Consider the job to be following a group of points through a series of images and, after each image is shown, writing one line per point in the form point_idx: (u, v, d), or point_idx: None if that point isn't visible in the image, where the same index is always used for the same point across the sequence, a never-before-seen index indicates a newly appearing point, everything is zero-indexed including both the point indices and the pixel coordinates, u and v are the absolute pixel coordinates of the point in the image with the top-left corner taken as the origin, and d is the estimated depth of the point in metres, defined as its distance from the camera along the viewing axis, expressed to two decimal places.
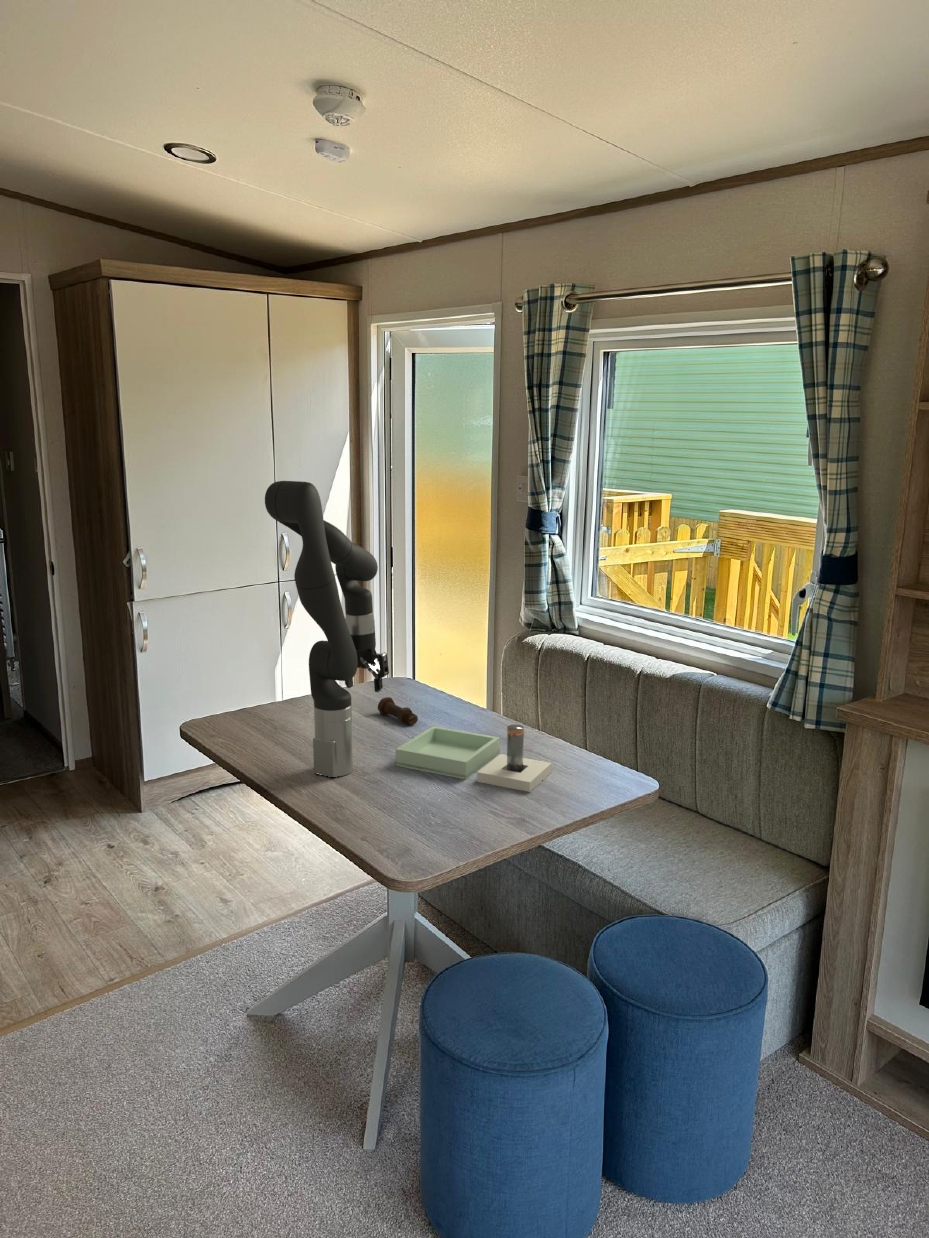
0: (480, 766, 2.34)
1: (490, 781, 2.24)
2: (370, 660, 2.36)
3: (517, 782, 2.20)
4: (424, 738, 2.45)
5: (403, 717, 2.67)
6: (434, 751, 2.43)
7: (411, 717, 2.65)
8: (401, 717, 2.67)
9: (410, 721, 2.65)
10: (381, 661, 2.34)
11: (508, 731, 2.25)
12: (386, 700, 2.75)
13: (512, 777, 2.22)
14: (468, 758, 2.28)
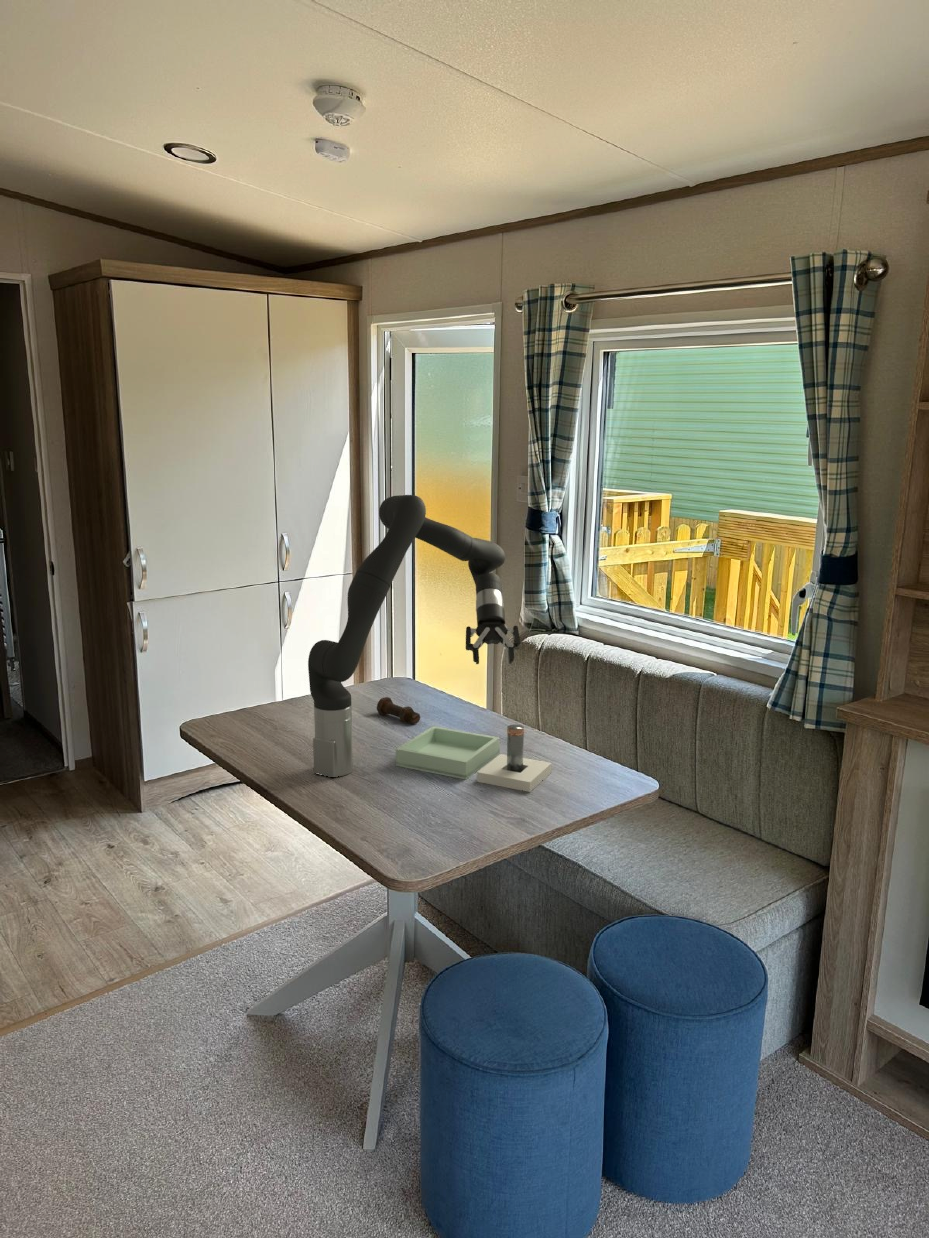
0: (480, 766, 2.34)
1: (490, 781, 2.24)
2: (504, 631, 2.42)
3: (517, 782, 2.20)
4: (424, 738, 2.45)
5: (405, 716, 2.67)
6: (434, 751, 2.43)
7: (414, 716, 2.66)
8: (403, 716, 2.67)
9: (413, 720, 2.66)
10: (516, 630, 2.42)
11: (508, 731, 2.25)
12: (385, 700, 2.75)
13: (512, 777, 2.22)
14: (468, 758, 2.28)
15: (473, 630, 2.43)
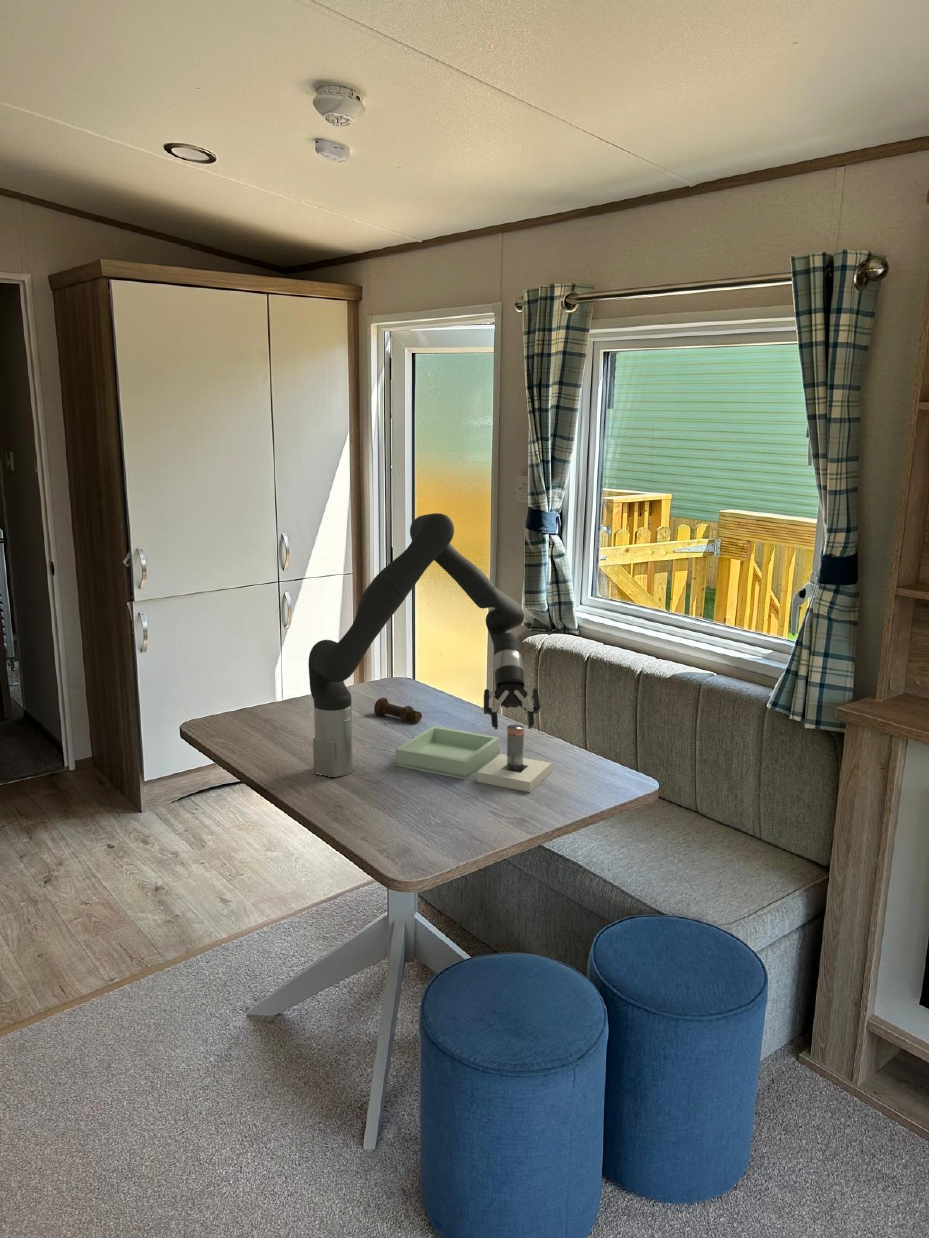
0: (480, 766, 2.34)
1: (490, 781, 2.24)
2: (523, 695, 2.35)
3: (517, 782, 2.20)
4: (424, 738, 2.45)
5: (407, 716, 2.68)
6: (434, 751, 2.43)
7: (417, 715, 2.67)
8: (405, 716, 2.68)
9: (416, 719, 2.67)
10: (536, 694, 2.35)
11: (508, 731, 2.25)
12: (382, 701, 2.74)
13: (512, 777, 2.22)
14: (468, 758, 2.28)
15: (491, 693, 2.35)
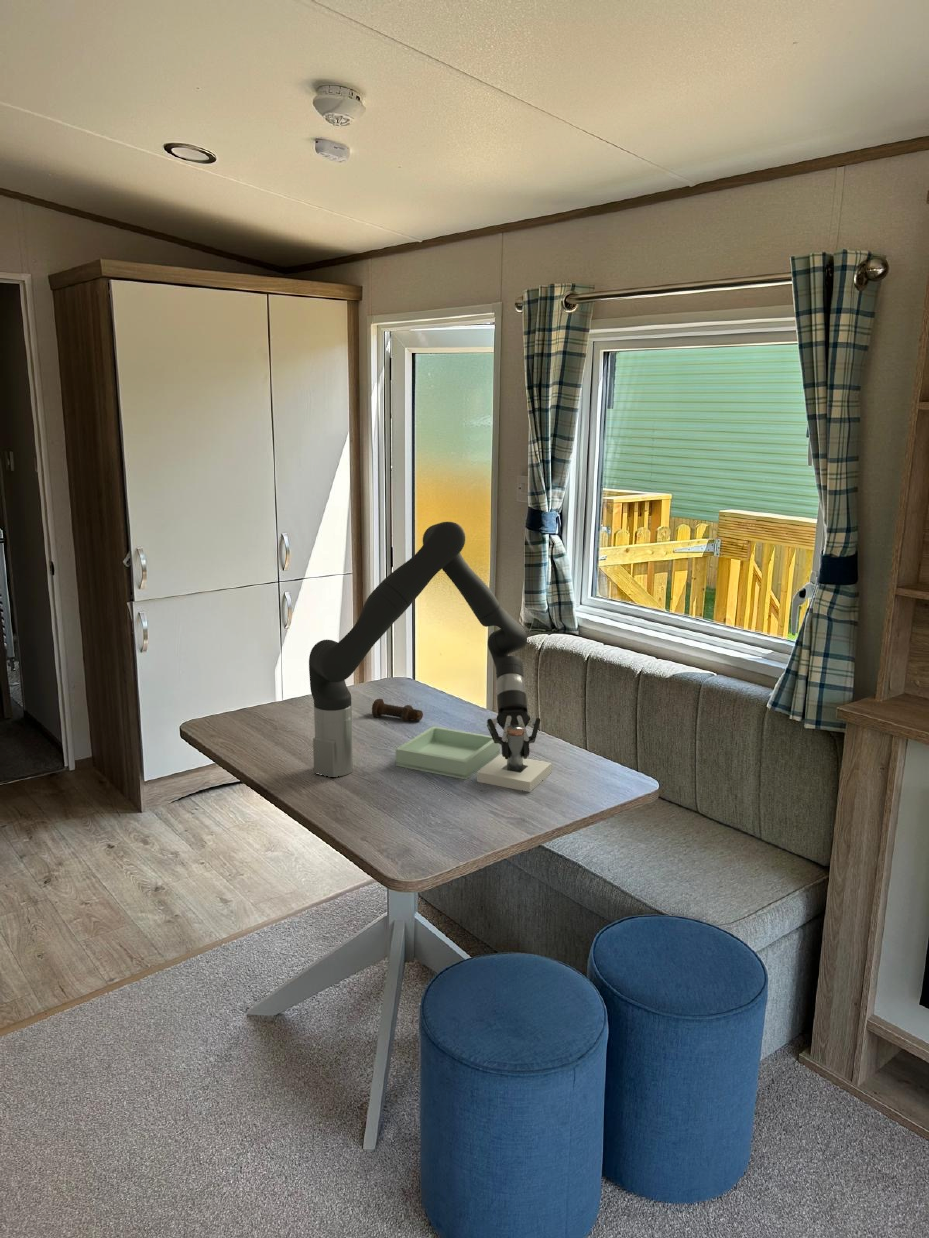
0: (480, 766, 2.34)
1: (490, 781, 2.24)
2: (525, 723, 2.29)
3: (517, 782, 2.20)
4: (424, 738, 2.45)
5: (409, 715, 2.69)
6: (434, 751, 2.43)
7: (419, 713, 2.68)
8: (407, 715, 2.69)
9: (418, 717, 2.68)
10: (537, 724, 2.29)
11: (508, 731, 2.25)
12: (379, 702, 2.73)
13: (512, 777, 2.22)
14: (468, 758, 2.28)
15: (494, 721, 2.30)
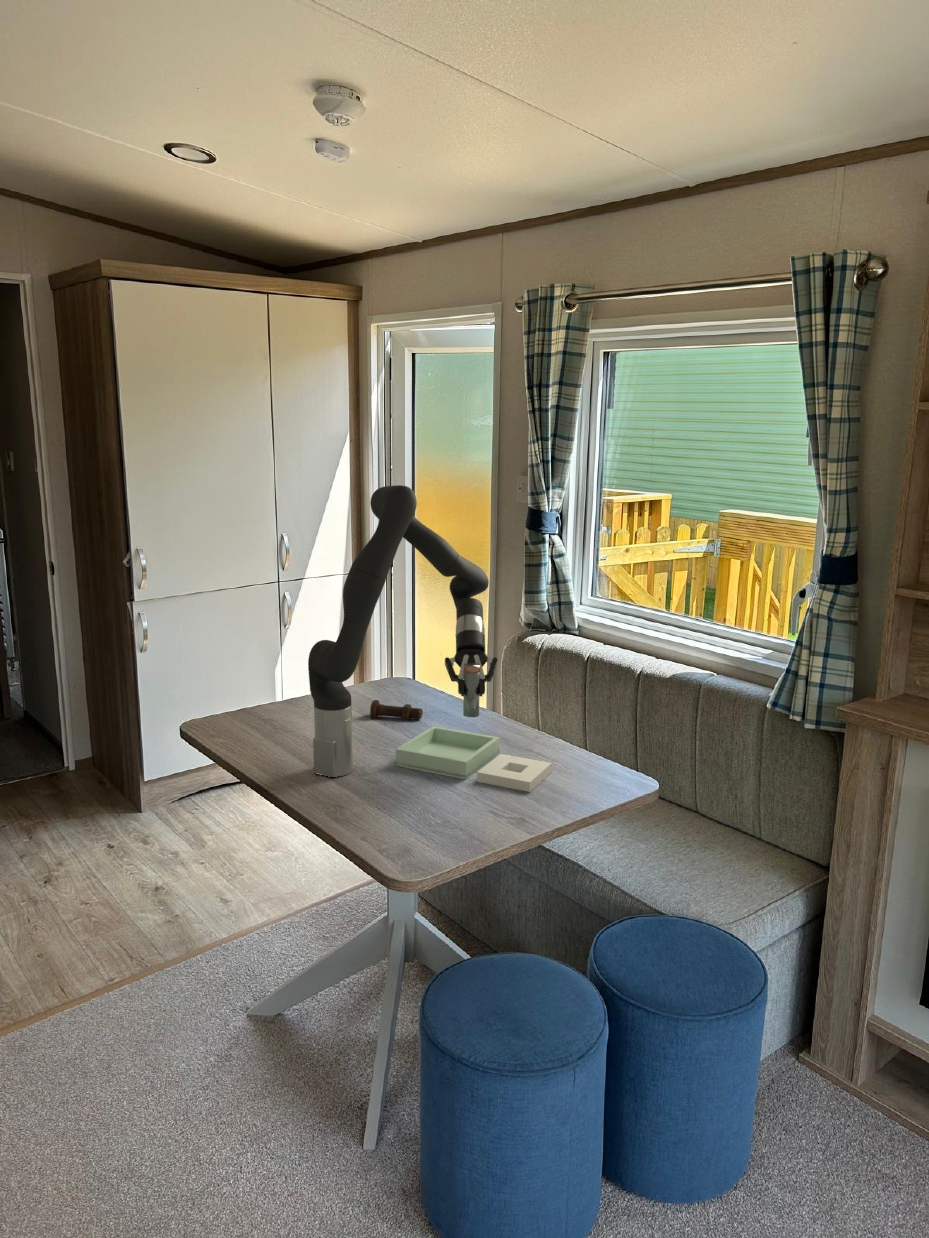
0: (480, 766, 2.34)
1: (490, 781, 2.24)
2: (482, 662, 2.33)
3: (517, 782, 2.20)
4: (424, 738, 2.45)
5: (410, 714, 2.70)
6: (434, 751, 2.43)
7: (420, 711, 2.70)
8: (408, 714, 2.69)
9: (419, 716, 2.70)
10: (494, 663, 2.33)
11: (464, 668, 2.29)
12: (377, 703, 2.72)
13: (512, 777, 2.22)
14: (468, 758, 2.28)
15: (452, 659, 2.34)
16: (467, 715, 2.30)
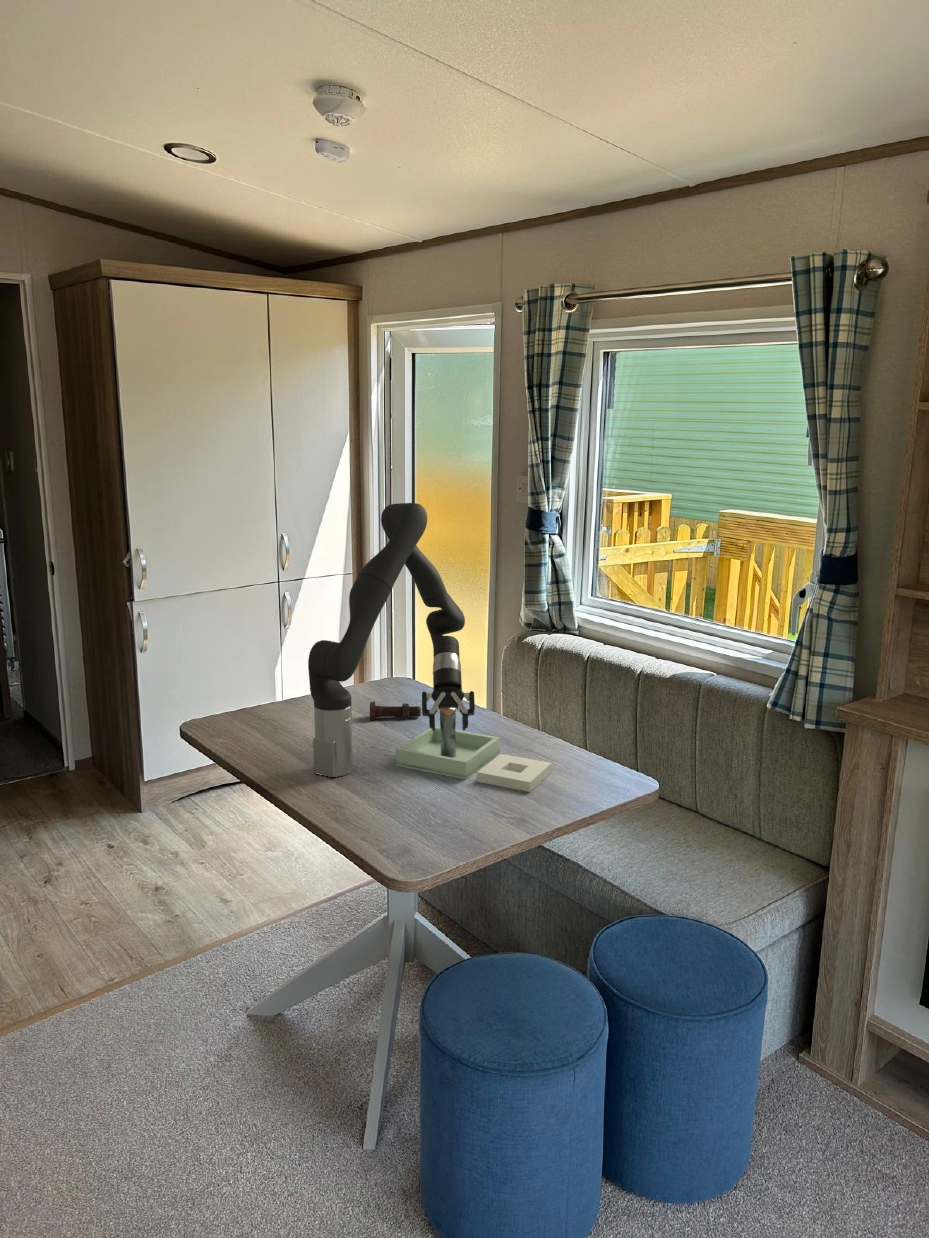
0: (480, 766, 2.34)
1: (490, 781, 2.24)
2: (460, 697, 2.40)
3: (517, 782, 2.20)
4: (424, 738, 2.45)
5: (410, 712, 2.71)
6: (434, 751, 2.43)
7: (420, 709, 2.72)
8: (408, 713, 2.70)
9: (419, 713, 2.72)
10: (472, 696, 2.40)
11: (440, 711, 2.36)
12: None
13: (512, 777, 2.22)
14: (468, 758, 2.28)
15: (429, 695, 2.41)
16: None
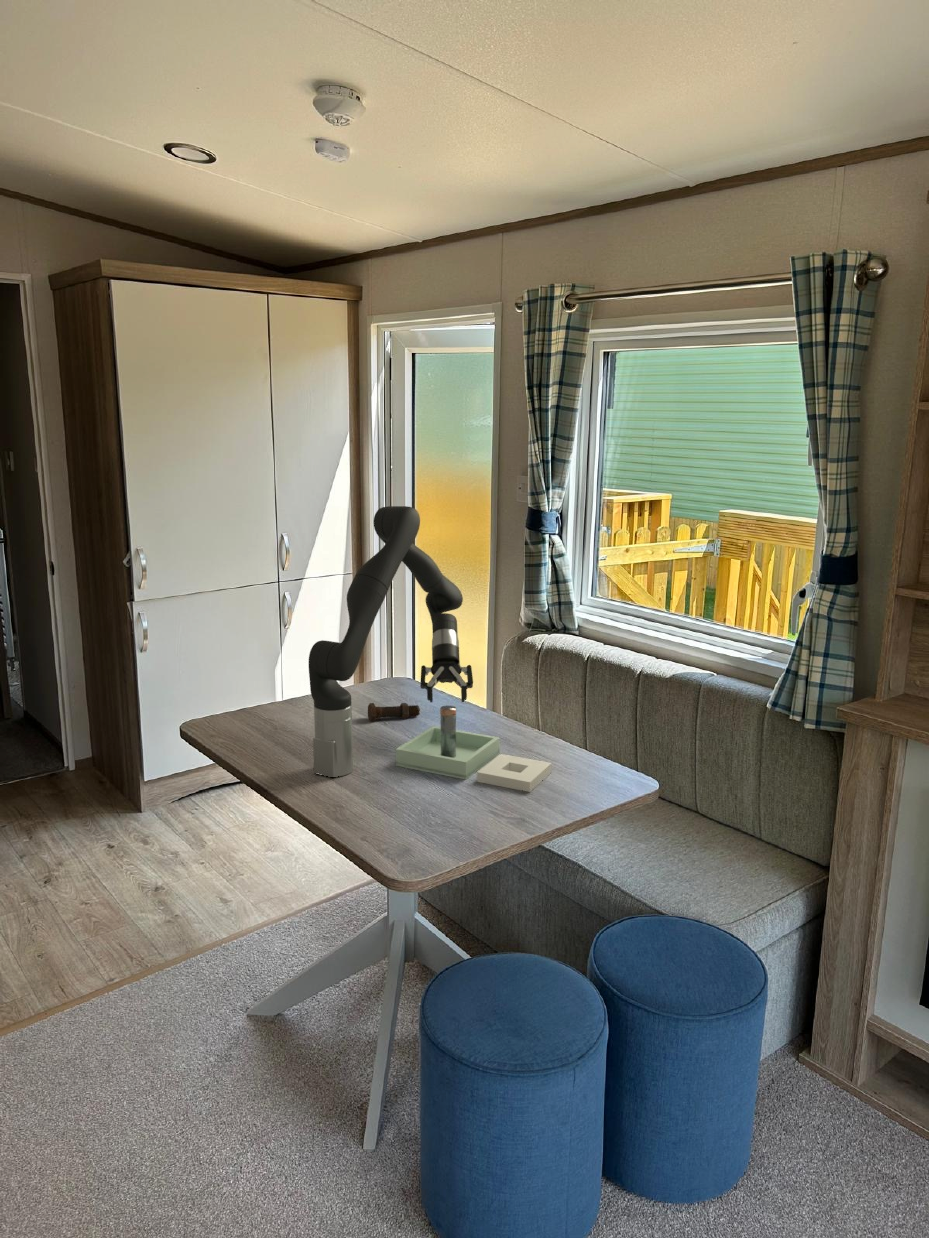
0: (480, 766, 2.34)
1: (490, 781, 2.24)
2: (458, 671, 2.51)
3: (517, 782, 2.20)
4: (424, 738, 2.45)
5: (409, 712, 2.72)
6: (434, 751, 2.43)
7: (418, 708, 2.73)
8: (408, 712, 2.71)
9: (418, 712, 2.73)
10: (470, 670, 2.51)
11: (441, 712, 2.36)
12: (374, 706, 2.69)
13: (512, 777, 2.22)
14: (468, 758, 2.28)
15: (428, 669, 2.52)
16: None
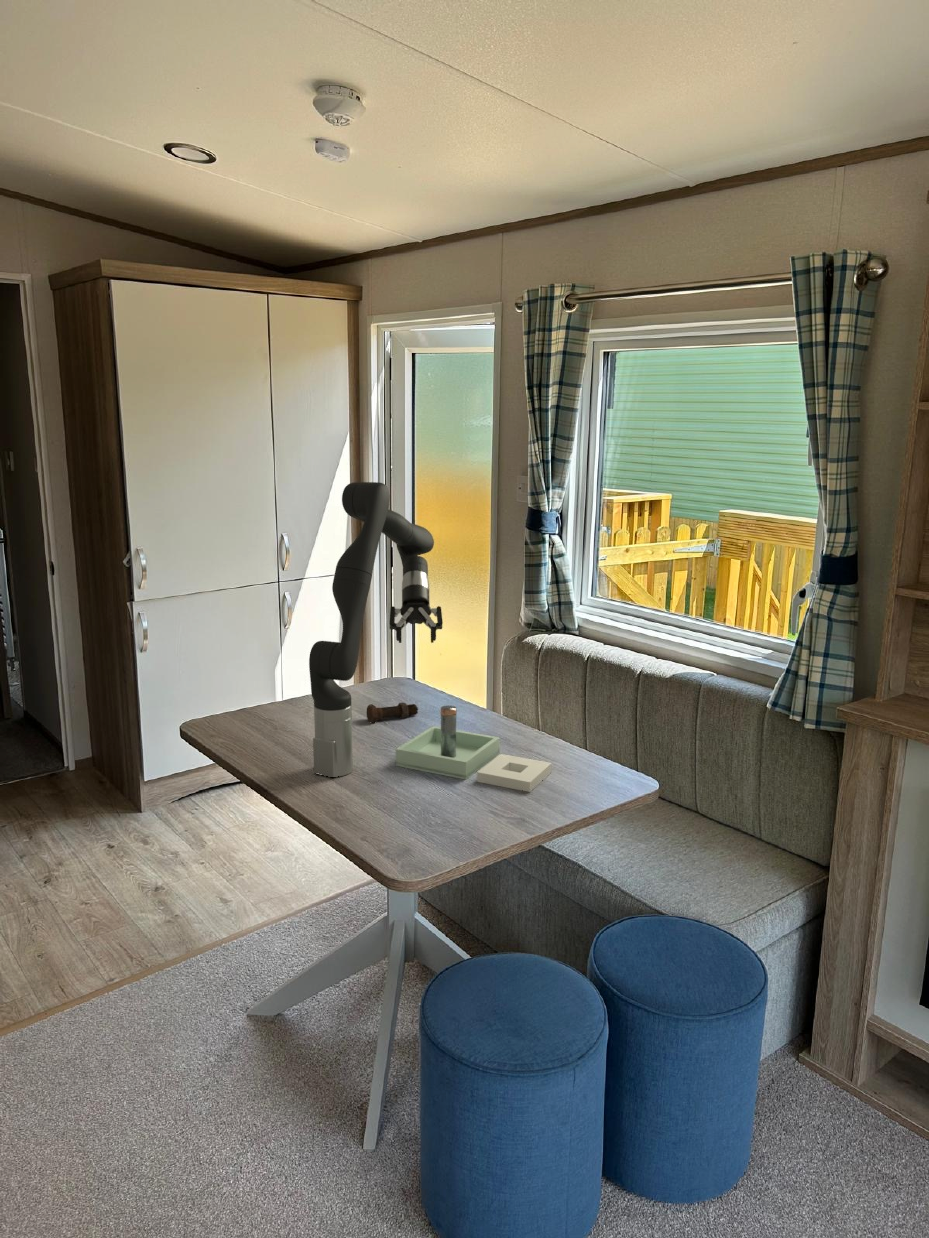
0: (480, 766, 2.34)
1: (490, 781, 2.24)
2: (427, 612, 2.49)
3: (517, 782, 2.20)
4: (424, 738, 2.45)
5: (408, 711, 2.72)
6: (434, 751, 2.43)
7: (416, 707, 2.74)
8: None
9: (417, 711, 2.74)
10: (440, 611, 2.49)
11: (441, 711, 2.36)
12: None
13: (512, 777, 2.22)
14: (468, 758, 2.28)
15: (397, 610, 2.50)
16: None
